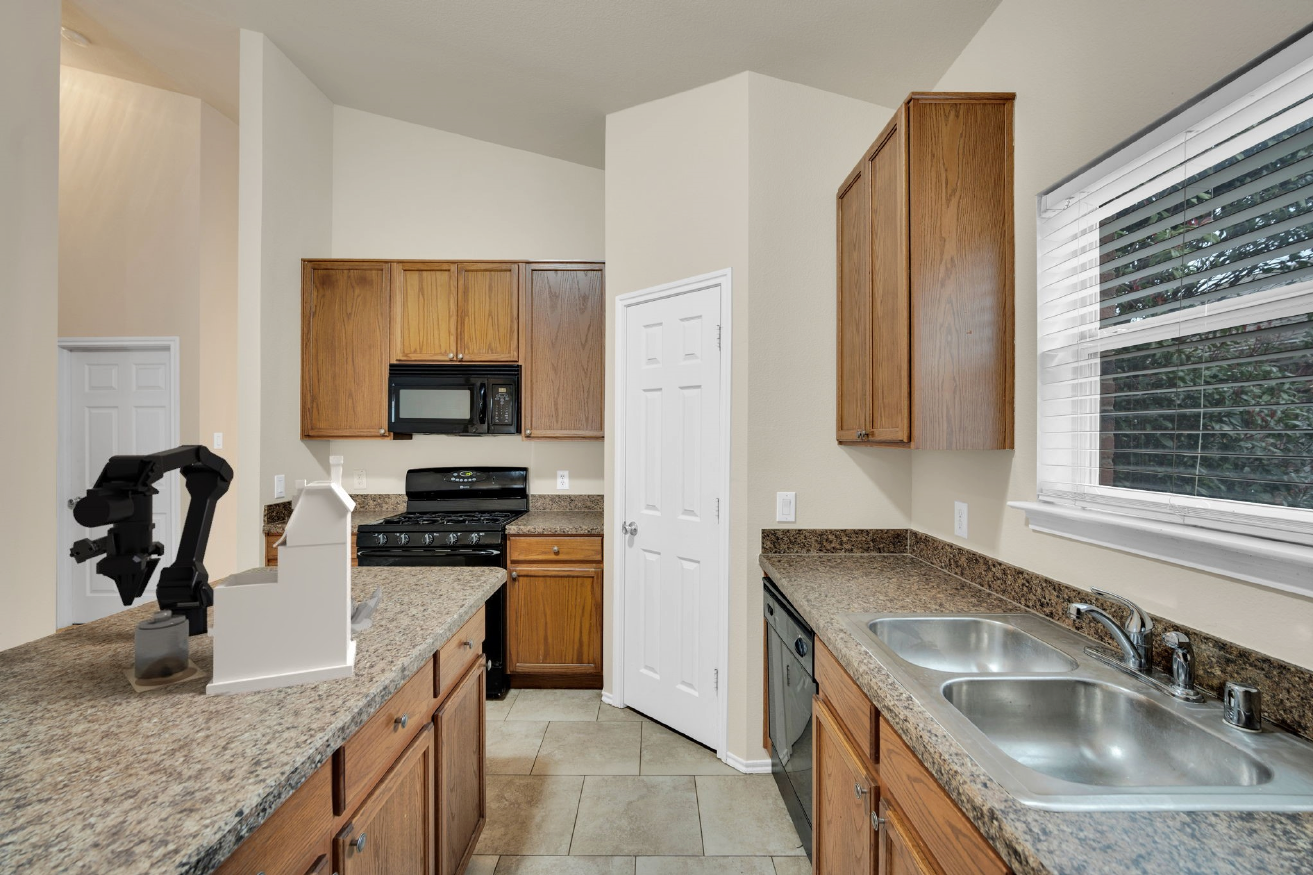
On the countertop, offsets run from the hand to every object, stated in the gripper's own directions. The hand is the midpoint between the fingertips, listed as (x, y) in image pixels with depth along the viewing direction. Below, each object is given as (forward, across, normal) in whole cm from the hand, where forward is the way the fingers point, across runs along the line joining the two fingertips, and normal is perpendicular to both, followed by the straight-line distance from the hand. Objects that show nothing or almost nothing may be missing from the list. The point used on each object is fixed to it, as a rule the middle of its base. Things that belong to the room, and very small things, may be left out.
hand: (132, 601), depth 113 cm
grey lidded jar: (+11, +9, +6) cm, 16 cm away
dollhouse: (+12, +19, +26) cm, 35 cm away
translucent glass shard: (+12, -5, +38) cm, 40 cm away
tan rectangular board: (+12, +11, +7) cm, 17 cm away
